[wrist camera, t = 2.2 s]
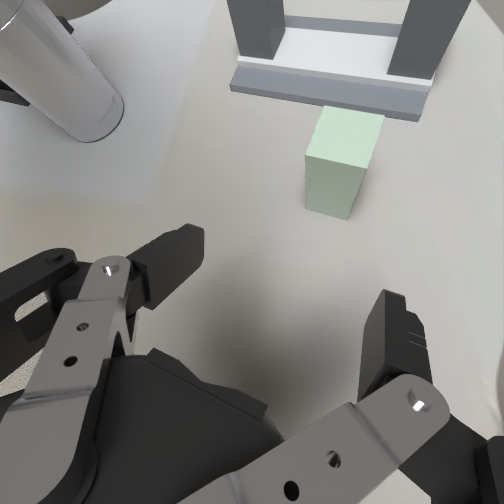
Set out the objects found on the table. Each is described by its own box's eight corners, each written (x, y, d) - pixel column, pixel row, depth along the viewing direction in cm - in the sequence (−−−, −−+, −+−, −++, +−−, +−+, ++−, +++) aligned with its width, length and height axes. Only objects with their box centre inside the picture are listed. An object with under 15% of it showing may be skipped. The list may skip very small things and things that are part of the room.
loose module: (305, 208, 29) (305, 154, 20) (319, 171, 30) (325, 103, 21) (346, 220, 28) (367, 168, 19) (359, 181, 29) (385, 113, 20)
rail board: (231, 90, 36) (205, 9, 26) (263, 21, 38) (249, -78, 28) (417, 121, 29) (468, 29, 20) (443, 36, 31) (501, -83, 22)
